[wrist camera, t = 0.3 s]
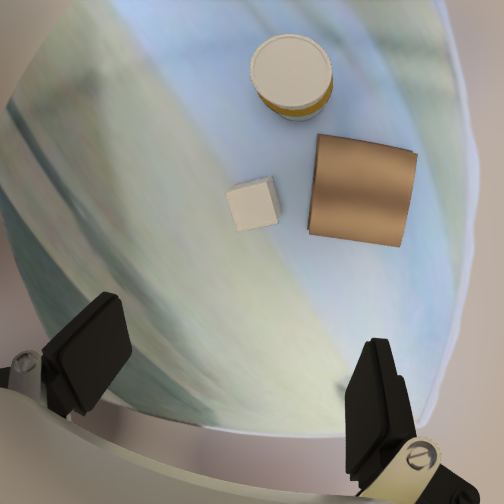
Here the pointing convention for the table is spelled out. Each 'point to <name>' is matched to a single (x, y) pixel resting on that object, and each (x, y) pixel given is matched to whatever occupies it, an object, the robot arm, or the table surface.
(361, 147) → the plinth
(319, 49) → the bottle
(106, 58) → the table surface
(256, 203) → the stone cube
